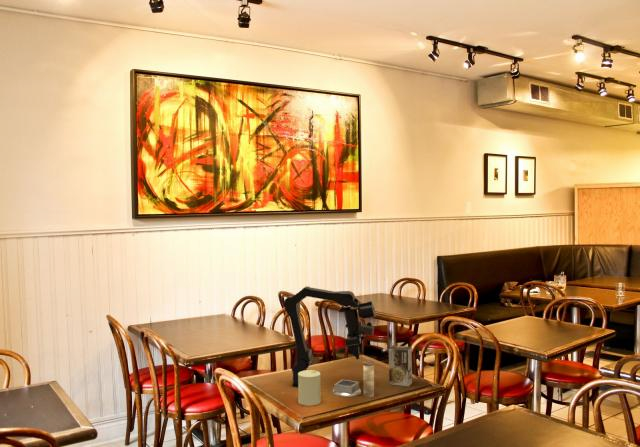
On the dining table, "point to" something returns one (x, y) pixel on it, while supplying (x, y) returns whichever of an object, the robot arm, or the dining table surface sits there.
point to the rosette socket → (346, 388)
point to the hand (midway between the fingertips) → (359, 356)
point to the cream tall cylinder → (368, 378)
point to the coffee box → (400, 365)
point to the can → (309, 387)
